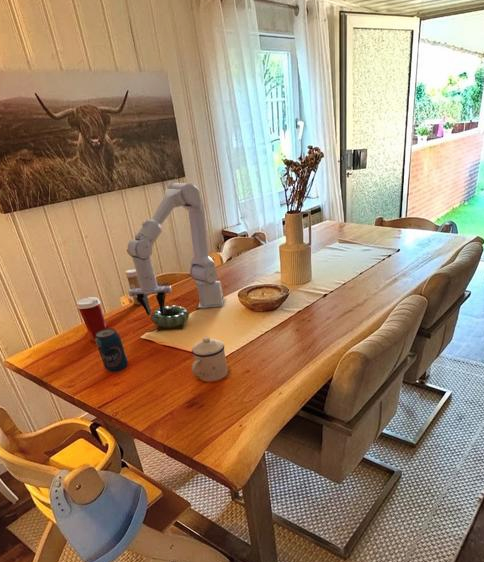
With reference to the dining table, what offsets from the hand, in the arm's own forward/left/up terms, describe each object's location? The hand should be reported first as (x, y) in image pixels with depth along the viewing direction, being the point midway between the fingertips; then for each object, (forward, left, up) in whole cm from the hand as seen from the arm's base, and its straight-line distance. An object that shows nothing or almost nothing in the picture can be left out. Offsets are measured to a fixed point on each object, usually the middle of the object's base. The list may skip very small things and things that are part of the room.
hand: (156, 313), depth 154 cm
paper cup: (+20, +7, -5) cm, 21 cm away
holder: (-5, 0, -5) cm, 7 cm away
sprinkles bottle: (+14, -25, -5) cm, 29 cm away
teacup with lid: (-23, +40, -5) cm, 46 cm away
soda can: (+7, +30, -5) cm, 31 cm away
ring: (-5, 0, -1) cm, 5 cm away
